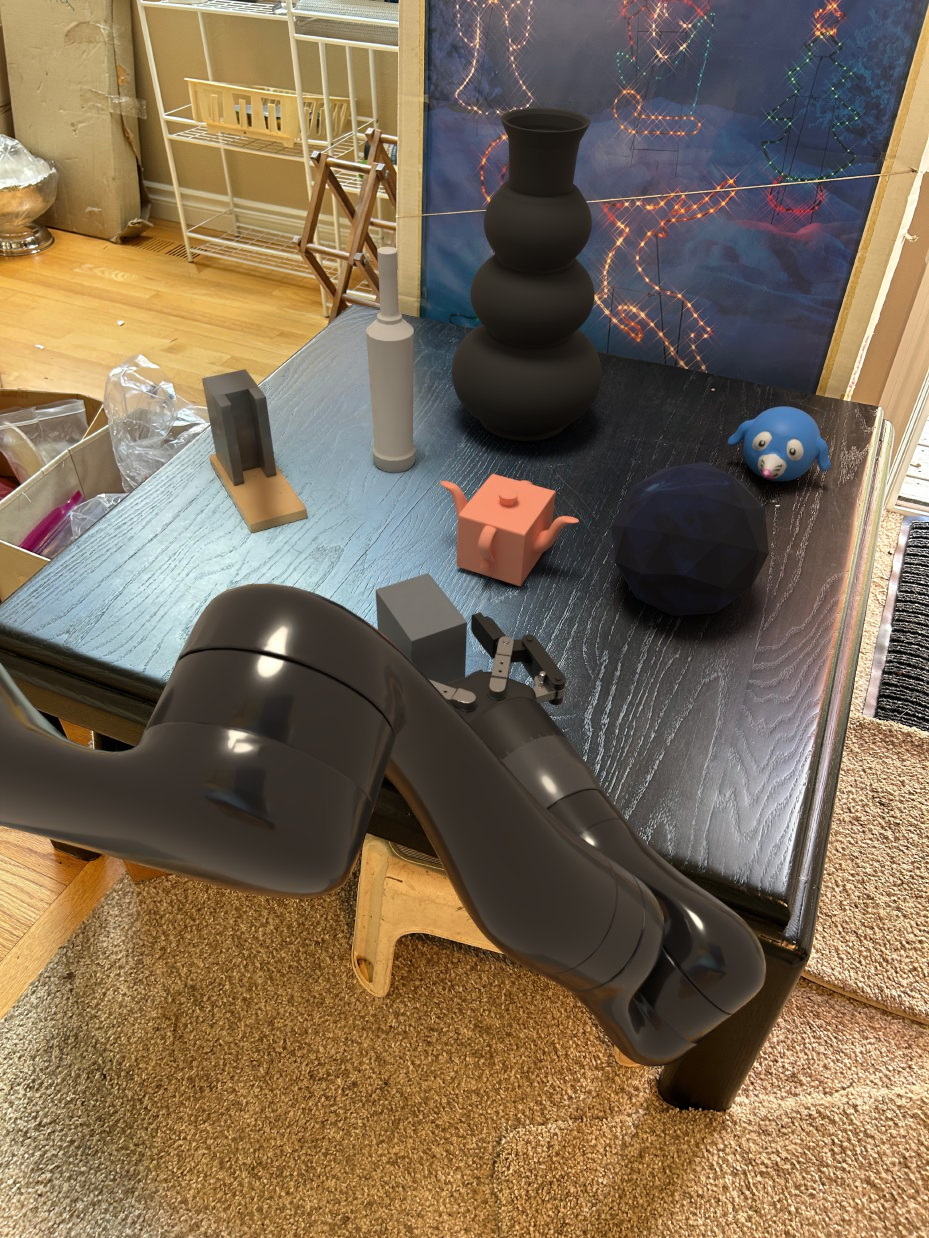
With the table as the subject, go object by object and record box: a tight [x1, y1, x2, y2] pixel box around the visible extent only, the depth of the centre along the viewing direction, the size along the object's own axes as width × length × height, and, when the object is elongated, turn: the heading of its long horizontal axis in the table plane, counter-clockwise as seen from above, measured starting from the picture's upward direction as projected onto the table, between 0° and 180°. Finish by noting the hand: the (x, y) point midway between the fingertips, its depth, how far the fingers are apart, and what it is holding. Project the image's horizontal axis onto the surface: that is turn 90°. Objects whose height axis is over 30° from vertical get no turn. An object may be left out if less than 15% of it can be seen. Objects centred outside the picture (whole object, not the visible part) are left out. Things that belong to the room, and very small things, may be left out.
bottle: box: [365, 246, 416, 473], centre depth 100 cm, size 5×5×25 cm
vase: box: [451, 107, 603, 442], centre depth 104 cm, size 18×18×35 cm
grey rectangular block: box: [375, 572, 468, 685], centre depth 78 cm, size 5×9×10 cm, turn 28°
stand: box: [201, 368, 308, 534], centre depth 99 cm, size 6×15×11 cm, turn 28°
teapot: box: [440, 473, 580, 587], centre depth 92 cm, size 12×15×8 cm
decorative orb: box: [610, 461, 770, 617], centre depth 86 cm, size 14×15×15 cm
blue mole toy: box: [727, 406, 832, 482], centre depth 104 cm, size 12×12×8 cm
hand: (428, 636), depth 74 cm, fingers open, 8 cm apart
